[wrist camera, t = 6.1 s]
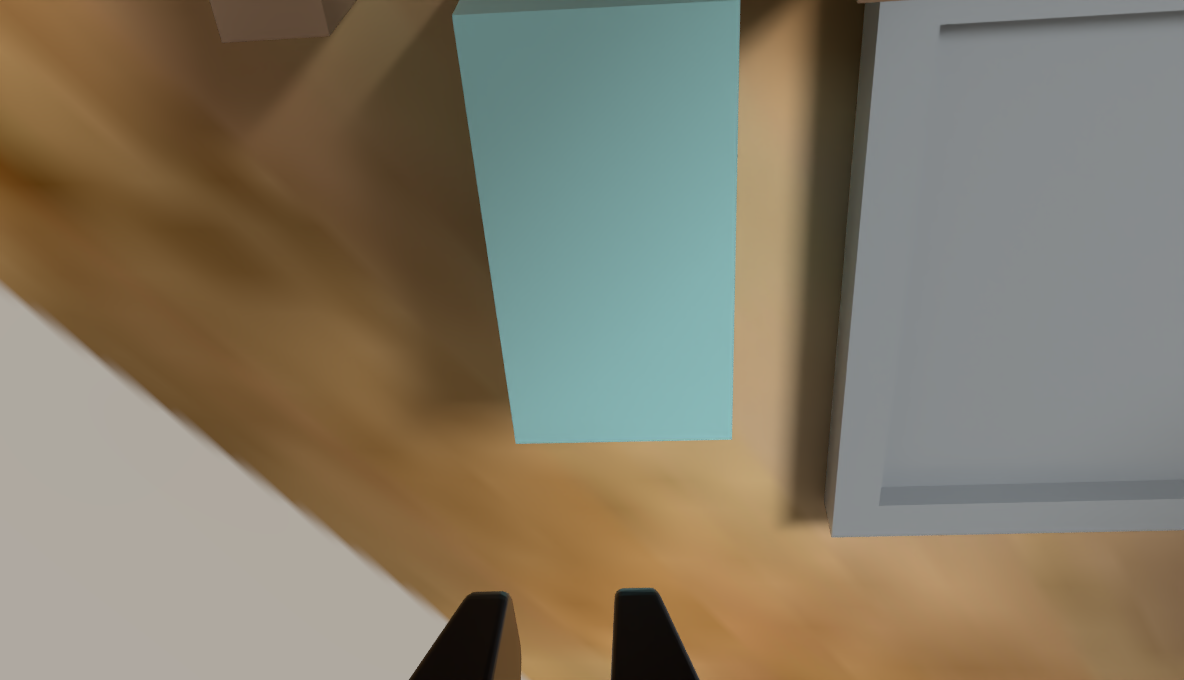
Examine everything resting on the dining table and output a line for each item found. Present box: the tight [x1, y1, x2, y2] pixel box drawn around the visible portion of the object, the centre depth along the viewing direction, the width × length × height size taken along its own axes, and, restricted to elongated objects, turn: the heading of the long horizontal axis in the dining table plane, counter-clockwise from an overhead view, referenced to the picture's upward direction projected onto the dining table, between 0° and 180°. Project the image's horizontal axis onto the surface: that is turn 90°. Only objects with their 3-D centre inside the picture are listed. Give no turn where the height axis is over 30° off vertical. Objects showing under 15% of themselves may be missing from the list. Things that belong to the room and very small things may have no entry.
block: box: [452, 0, 740, 444], centre depth 18 cm, size 4×4×8 cm
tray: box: [824, 0, 1184, 537], centre depth 20 cm, size 11×13×1 cm
